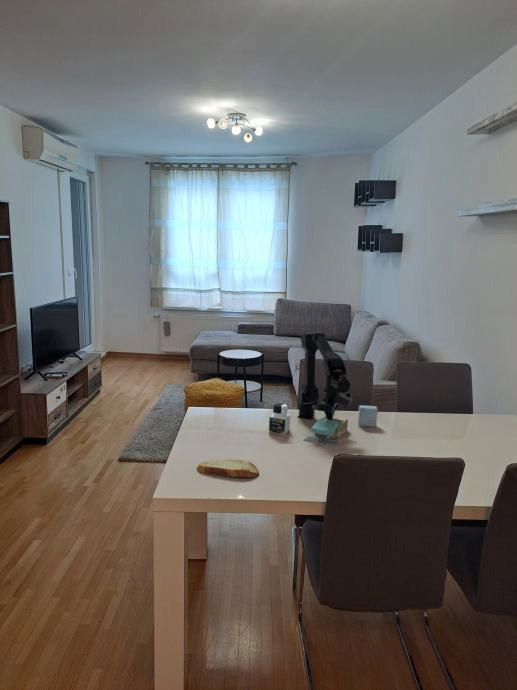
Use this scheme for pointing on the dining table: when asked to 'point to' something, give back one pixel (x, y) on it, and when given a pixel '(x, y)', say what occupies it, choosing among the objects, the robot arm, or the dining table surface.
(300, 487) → the dining table surface
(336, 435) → the wooden box
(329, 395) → the robot arm
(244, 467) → the slice of bread
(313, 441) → the grey mat
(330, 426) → the cover plate
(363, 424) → the medicine box
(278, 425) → the medicine bottle
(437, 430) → the dining table surface
